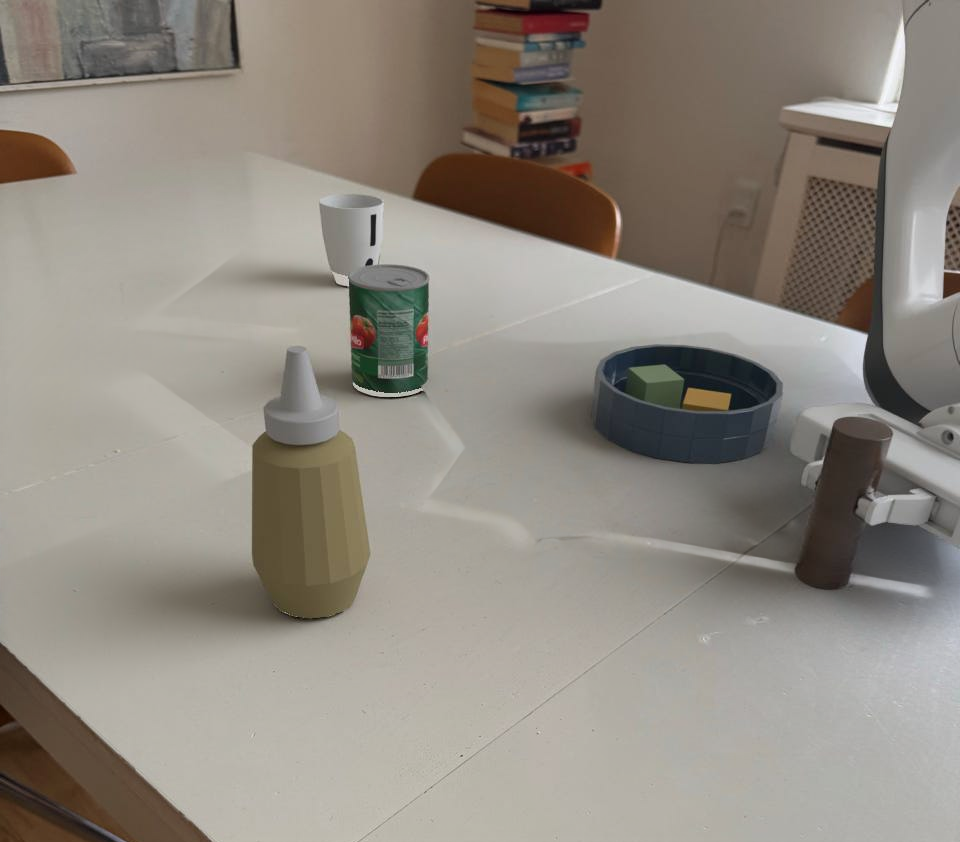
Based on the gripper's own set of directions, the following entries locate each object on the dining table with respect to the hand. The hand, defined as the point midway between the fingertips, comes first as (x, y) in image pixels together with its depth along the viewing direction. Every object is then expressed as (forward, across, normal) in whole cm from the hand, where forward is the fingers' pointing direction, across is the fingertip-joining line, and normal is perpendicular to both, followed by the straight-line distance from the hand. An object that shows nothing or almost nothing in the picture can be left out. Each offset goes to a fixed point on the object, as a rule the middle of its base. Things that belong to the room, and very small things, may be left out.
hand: (836, 494), depth 71 cm
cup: (+3, -81, +7) cm, 82 cm away
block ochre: (-7, -22, +6) cm, 24 cm away
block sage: (-6, -29, +6) cm, 30 cm away
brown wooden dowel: (-1, 0, +7) cm, 7 cm away
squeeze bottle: (+35, -14, +7) cm, 38 cm away
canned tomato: (+13, -48, +7) cm, 50 cm away
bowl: (-7, -26, +7) cm, 28 cm away
